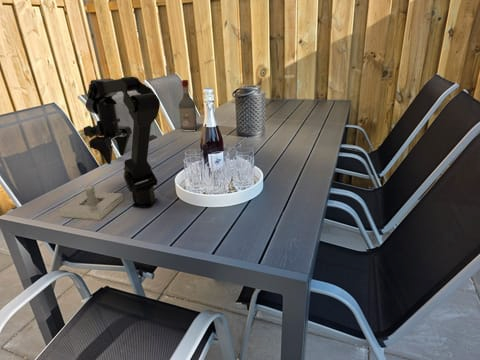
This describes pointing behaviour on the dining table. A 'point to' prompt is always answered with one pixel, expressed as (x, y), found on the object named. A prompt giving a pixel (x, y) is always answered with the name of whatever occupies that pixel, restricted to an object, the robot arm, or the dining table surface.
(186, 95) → the liquor
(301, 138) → the dining table surface
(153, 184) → the robot arm
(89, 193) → the rook chess piece
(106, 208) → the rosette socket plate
